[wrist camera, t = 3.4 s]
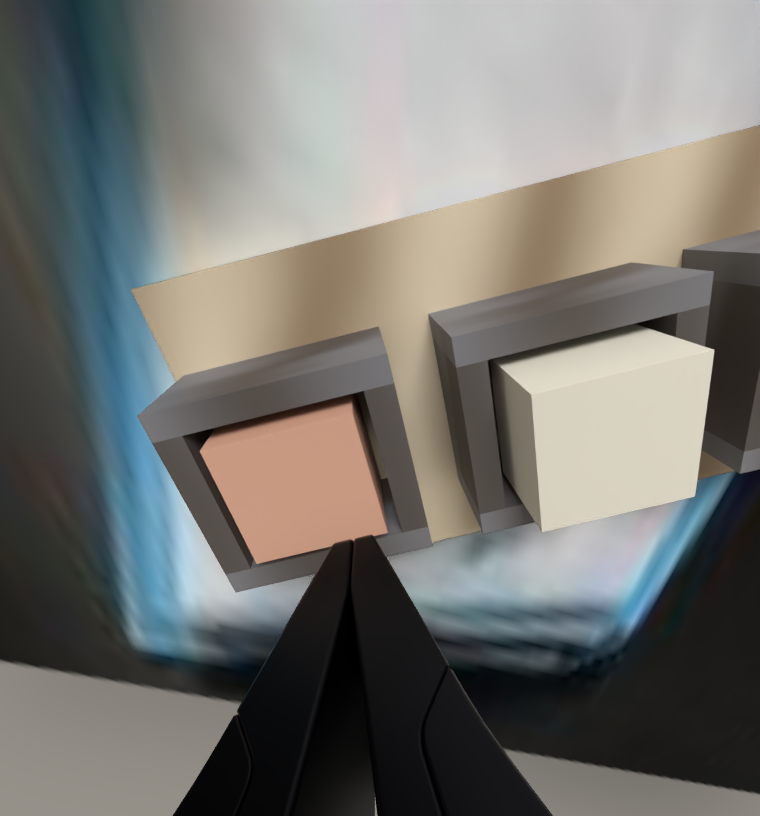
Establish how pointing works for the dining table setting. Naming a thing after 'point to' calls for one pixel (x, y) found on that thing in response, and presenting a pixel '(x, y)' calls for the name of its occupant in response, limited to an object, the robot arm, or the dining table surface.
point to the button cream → (602, 423)
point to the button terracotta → (299, 478)
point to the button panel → (463, 332)
